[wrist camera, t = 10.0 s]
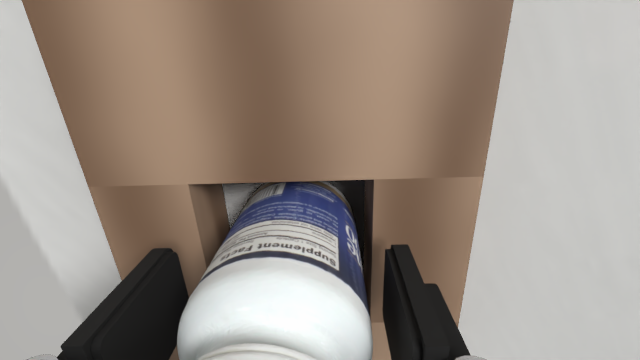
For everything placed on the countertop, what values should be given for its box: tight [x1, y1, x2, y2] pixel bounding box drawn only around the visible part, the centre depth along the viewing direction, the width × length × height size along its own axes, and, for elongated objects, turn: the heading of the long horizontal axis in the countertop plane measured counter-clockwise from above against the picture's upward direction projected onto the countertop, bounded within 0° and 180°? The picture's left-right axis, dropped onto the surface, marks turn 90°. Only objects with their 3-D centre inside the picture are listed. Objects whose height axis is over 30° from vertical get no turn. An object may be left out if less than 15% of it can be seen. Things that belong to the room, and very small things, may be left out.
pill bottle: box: [177, 181, 373, 360], centre depth 10 cm, size 5×5×10 cm
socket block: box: [22, 0, 514, 360], centre depth 13 cm, size 14×20×3 cm
